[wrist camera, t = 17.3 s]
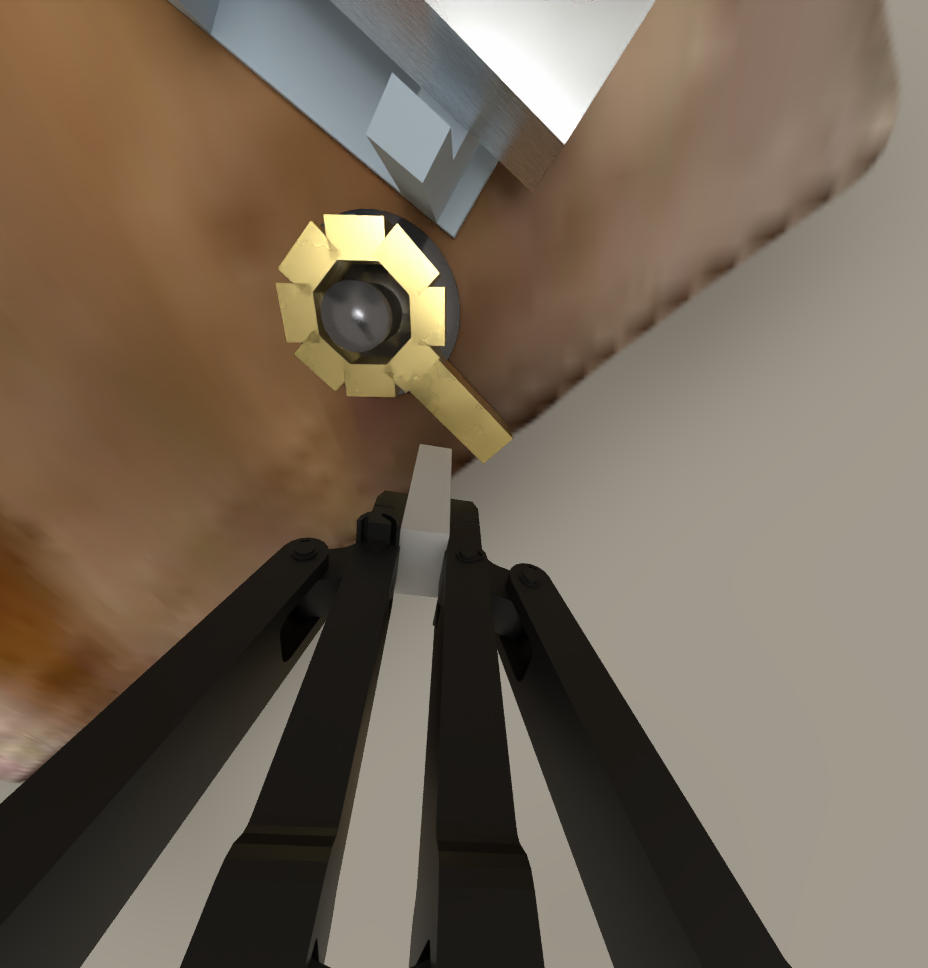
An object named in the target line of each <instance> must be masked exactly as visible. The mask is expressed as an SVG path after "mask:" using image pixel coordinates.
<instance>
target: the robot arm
mask: <svg viewBox="0 0 928 968" xmlns="http://www.w3.org/2000/svg"><path fill="white" fill-rule="evenodd" d="M451 460H452V449H449V448H443V447H436V446H430V445H423V444H420V446H419V450H418V455H417V459H416V464H415V468H414V472H413V477H412V481H411V486H410V490H409V494H406V493H399V492H392V491H384V492H383V493H381V494H380V495H379V496H378V497H377V499H376V502H375V505H374V507H373V510H372V511H371V512H367V513H365V514H363V515H361V516H360V517H359V518H358V520H357V535H356V543H355V544H353V545H351V546H348V547H344V548H337V549H328V546H327V545H326V544H325V542H323V541H321V540H319V539H315V538H300V539H296V540H293V541H291V542H289V543H288V544H286V545H284V546H283V547H282V548H281V549H280V550H279V551H278V552H277V553H276V554H274V555H273V556H272V557H271V558H270V559H269V560H268V561H267V562H266V563H265V564H263V565H262V566H261V567H260V568H259V569H258V570H257V571H256V572H255V573H254V574H252V575H251V576H250V577H249V578H248V579H247V580H246V581H245V582H244V583H243V584H241V585H240V586H239V587H238V588H237V589H236V590H235V591H234V592H233V593H232V594H230V595H229V596H228V597H227V598H226V599H225V600H224V601H223V602H222V603H221V604H219V605H218V606H217V607H216V608H215V609H214V610H213V611H212V612H211V613H210V614H208V615H207V616H206V617H205V618H204V619H203V620H202V621H201V622H200V623H199V624H198V625H196V626H195V627H194V628H193V629H192V630H191V631H190V632H189V633H188V634H187V635H185V636H184V637H183V638H182V639H181V640H180V641H179V642H178V643H177V644H176V645H174V646H173V647H172V648H171V649H170V650H169V651H168V652H167V653H166V654H165V655H163V656H162V657H161V658H160V659H159V660H158V661H157V662H156V663H155V664H154V665H152V666H151V667H150V668H149V669H148V670H147V671H146V672H145V673H144V674H143V675H141V676H140V677H139V678H138V679H137V680H136V681H135V682H134V683H133V684H132V685H130V686H129V687H128V688H127V689H126V690H125V691H124V692H123V693H122V694H121V695H119V696H118V697H117V698H116V699H115V700H114V701H113V702H112V703H111V704H110V705H108V706H107V707H106V708H105V709H104V710H103V711H102V712H101V713H100V714H99V715H97V716H96V717H95V718H94V719H93V720H92V721H91V722H90V723H89V724H88V725H86V726H85V727H84V728H83V729H82V730H81V731H80V732H79V733H78V734H77V735H75V736H74V737H73V738H72V739H71V740H70V741H69V742H68V743H67V744H66V745H65V746H63V747H62V748H61V749H60V750H59V751H58V752H57V753H56V754H55V755H54V756H52V757H51V758H50V759H49V760H48V761H47V762H46V763H45V764H44V765H43V766H41V767H40V768H39V769H38V770H37V771H36V772H35V773H34V774H33V775H32V776H30V777H29V778H28V779H27V780H26V781H25V782H24V783H23V784H22V785H21V786H20V787H18V788H17V789H16V790H15V791H14V792H13V793H12V794H11V795H10V796H8V797H7V798H6V799H5V800H4V801H3V802H2V803H1V804H0V968H80V967H81V965H82V964H83V963H84V961H85V960H86V958H87V957H88V956H89V954H90V953H91V951H92V950H93V949H94V947H95V946H96V944H97V943H98V942H99V940H100V939H101V937H102V936H103V934H104V933H105V932H106V930H107V928H108V927H109V926H110V924H111V923H112V922H113V920H114V919H115V918H116V916H117V915H118V913H119V912H120V910H121V909H122V908H123V906H124V905H125V903H126V902H127V901H128V899H129V898H130V896H131V895H132V894H133V892H134V891H135V889H136V888H137V887H138V885H139V884H140V882H141V881H142V879H143V878H144V877H145V875H146V874H147V872H148V871H149V869H150V868H151V867H152V865H153V864H154V863H155V861H156V859H157V858H158V857H159V855H160V854H161V853H162V851H163V850H164V848H165V847H166V846H167V844H168V843H169V841H170V840H171V839H172V837H173V836H174V834H175V833H176V831H177V830H178V829H179V827H180V826H181V824H182V823H183V822H184V820H185V819H186V817H187V816H188V815H189V813H190V812H191V810H192V809H193V807H194V806H195V805H196V803H197V802H198V800H199V799H200V797H201V796H202V795H203V793H204V792H205V791H206V789H207V788H208V786H209V785H210V783H211V782H212V781H213V779H214V778H215V777H216V775H217V774H218V772H219V771H220V769H221V768H222V767H223V765H224V763H225V762H226V761H227V760H228V758H229V757H230V755H231V754H232V752H233V751H234V750H235V748H236V747H237V745H238V744H239V743H240V741H241V740H242V738H243V737H244V736H245V734H246V733H247V731H248V730H249V729H250V727H251V726H252V724H253V723H254V722H255V720H256V719H257V717H258V716H259V714H260V713H261V712H262V710H263V709H264V707H265V706H266V705H267V703H268V702H269V700H270V699H271V698H272V696H273V695H274V693H275V691H276V690H277V689H278V688H279V686H280V684H281V683H282V682H283V681H284V679H285V678H286V676H287V675H288V674H289V672H290V671H291V669H292V668H293V666H294V665H295V664H296V662H297V661H298V659H299V658H300V657H301V655H302V654H303V652H304V651H305V650H306V648H307V647H308V645H309V644H310V642H311V641H312V640H313V638H314V637H315V635H316V634H317V632H318V631H319V630H320V628H321V627H322V625H323V624H324V623H325V625H324V627H323V630H322V633H321V635H320V638H319V641H318V643H317V646H316V648H315V651H314V654H313V656H312V659H311V661H310V664H309V667H308V670H307V672H306V675H305V677H304V680H303V683H302V685H301V688H300V690H299V693H298V695H297V698H296V701H295V703H294V706H293V709H292V712H291V714H290V717H289V719H288V722H287V724H286V727H285V730H284V732H283V735H282V737H281V740H280V743H279V745H278V748H277V750H276V753H275V756H274V759H273V761H272V764H271V766H270V769H269V771H268V774H267V777H266V779H265V782H264V785H263V787H262V790H261V792H260V795H259V798H258V800H257V803H256V805H255V808H254V811H253V813H252V816H251V818H250V821H249V823H248V825H247V827H246V829H245V830H244V832H243V833H242V834H241V836H240V837H239V838H238V839H237V840H236V841H235V842H234V843H233V845H232V847H231V848H230V850H229V852H228V854H227V855H226V857H225V859H224V861H223V864H222V866H221V868H220V870H219V873H218V875H217V877H216V879H215V882H214V884H213V887H212V889H211V892H210V894H209V897H208V899H207V902H206V904H205V907H204V909H203V912H202V914H201V917H200V919H199V922H198V924H197V926H196V929H195V931H194V934H193V936H192V939H191V941H190V944H189V947H188V949H187V951H186V954H185V956H184V959H183V961H182V964H181V966H180V968H330V967H328V966H326V965H324V961H325V956H326V950H327V945H328V939H329V934H330V929H331V922H332V917H333V910H334V904H335V897H336V890H337V885H338V880H339V875H340V870H341V865H342V859H343V854H344V849H345V844H346V839H347V834H348V829H349V823H350V818H351V813H352V808H353V802H354V798H355V793H356V788H357V782H358V777H359V772H360V767H361V762H362V757H363V752H364V747H365V742H366V737H367V732H368V726H369V721H370V715H371V711H372V706H373V701H374V696H375V690H376V685H377V680H378V675H379V670H380V665H381V660H382V655H383V650H384V644H385V639H386V634H387V629H388V624H389V619H390V614H391V608H392V602H393V594H394V593H402V594H411V595H420V596H429V597H437V596H438V601H437V605H436V611H435V616H434V621H433V626H434V627H435V628H434V641H433V657H432V672H431V686H430V701H429V716H428V731H427V746H426V761H425V776H424V791H423V792H424V793H423V806H422V821H421V837H420V851H419V867H418V881H417V891H416V901H415V908H414V916H413V924H412V934H411V947H410V959H409V968H545V967H544V959H543V951H542V944H541V936H540V928H539V920H538V912H537V904H536V896H535V889H534V883H533V877H532V871H531V867H530V864H529V860H528V857H527V854H526V853H525V851H524V850H523V848H522V846H521V845H520V842H519V839H518V835H517V828H516V820H515V811H514V802H513V792H512V783H511V774H510V764H509V755H508V746H507V738H506V727H505V718H504V709H503V700H502V692H501V681H500V672H499V663H498V653H499V655H500V658H501V661H502V663H503V666H504V669H505V672H506V674H507V677H508V680H509V682H510V685H511V688H512V691H513V693H514V696H515V699H516V701H517V704H518V707H519V710H520V712H521V715H522V718H523V720H524V723H525V726H526V729H527V731H528V734H529V737H530V740H531V742H532V745H533V748H534V751H535V753H536V756H537V759H538V761H539V764H540V767H541V770H542V772H543V775H544V778H545V780H546V783H547V786H548V789H549V791H550V794H551V797H552V800H553V802H554V805H555V808H556V811H557V813H558V816H559V819H560V822H561V824H562V827H563V830H564V832H565V835H566V838H567V841H568V843H569V846H570V849H571V851H572V854H573V857H574V859H575V862H576V865H577V868H578V871H579V873H580V876H581V879H582V881H583V884H584V887H585V890H586V892H587V895H588V897H589V900H590V903H591V906H592V909H593V911H594V914H595V917H596V920H597V922H598V925H599V928H600V931H601V933H602V936H603V939H604V941H605V944H606V947H607V950H608V952H609V955H610V958H611V961H612V963H613V966H614V968H792V967H791V966H790V965H789V964H788V963H787V961H786V960H785V959H784V957H783V955H782V954H781V952H780V951H779V949H778V947H777V946H776V944H775V942H774V941H773V939H772V938H771V936H770V934H769V933H768V931H767V929H766V928H765V926H764V925H763V923H762V921H761V920H760V918H759V917H758V915H757V913H756V912H755V910H754V908H753V907H752V905H751V904H750V902H749V900H748V899H747V897H746V895H745V894H744V892H743V891H742V889H741V887H740V886H739V884H738V882H737V881H736V879H735V878H734V876H733V874H732V873H731V871H730V870H729V868H728V866H727V865H726V863H725V861H724V860H723V858H722V857H721V855H720V853H719V852H718V850H717V848H716V847H715V845H714V843H713V842H712V840H711V839H710V837H709V836H708V834H707V832H706V831H705V829H704V827H703V826H702V824H701V822H700V821H699V819H698V818H697V816H696V814H695V813H694V811H693V809H692V808H691V806H690V805H689V803H688V801H687V800H686V798H685V796H684V795H683V793H682V792H681V790H680V788H679V787H678V785H677V784H676V782H675V780H674V779H673V777H672V775H671V774H670V772H669V770H668V769H667V767H666V766H665V764H664V762H663V761H662V759H661V757H660V756H659V754H658V753H657V751H656V749H655V748H654V746H653V744H652V743H651V741H650V740H649V738H648V736H647V735H646V733H645V732H644V730H643V728H642V727H641V725H640V723H639V722H638V720H637V719H636V717H635V715H634V714H633V712H632V710H631V709H630V707H629V706H628V704H627V702H626V701H625V699H624V698H623V696H622V694H621V693H620V691H619V689H618V688H617V686H616V684H615V683H614V681H613V680H612V678H611V677H610V675H609V673H608V671H607V670H606V668H605V667H604V665H603V663H602V662H601V660H600V659H599V657H598V655H597V654H596V652H595V650H594V649H593V647H592V646H591V644H590V642H589V641H588V639H587V637H586V636H585V634H584V633H583V632H582V629H581V628H580V626H579V625H578V623H577V621H576V620H575V618H574V616H573V615H572V613H571V612H570V610H569V608H568V607H567V605H566V603H565V602H564V600H563V598H562V597H561V595H560V594H559V592H558V590H557V589H556V587H555V586H554V584H553V583H552V581H551V579H550V577H549V576H548V575H547V574H546V573H545V572H544V571H543V570H541V569H540V568H539V567H537V566H534V565H531V564H524V563H521V564H516V565H515V566H513V567H512V568H511V570H507V569H505V568H502V567H499V566H497V565H495V564H493V563H492V562H490V561H489V560H488V559H487V556H486V553H485V552H484V551H483V550H482V545H481V535H480V526H479V514H478V509H477V507H476V506H475V505H474V504H473V502H470V501H462V500H455V499H450V497H451V495H450V494H451ZM325 621H326V622H325ZM497 650H498V653H497Z"/></svg>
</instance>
